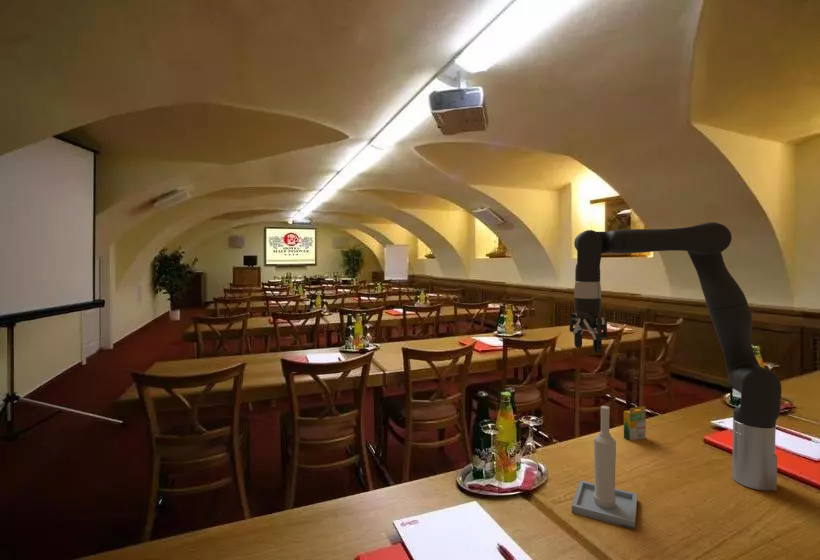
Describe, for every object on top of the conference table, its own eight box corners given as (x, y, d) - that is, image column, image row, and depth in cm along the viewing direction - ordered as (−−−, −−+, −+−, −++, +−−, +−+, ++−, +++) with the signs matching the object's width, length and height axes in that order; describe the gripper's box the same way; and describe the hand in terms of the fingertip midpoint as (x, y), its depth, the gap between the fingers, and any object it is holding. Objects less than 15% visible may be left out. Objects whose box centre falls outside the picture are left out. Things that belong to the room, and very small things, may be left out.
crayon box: (639, 435, 150) (639, 403, 150) (646, 438, 147) (646, 406, 147) (623, 437, 148) (623, 405, 148) (629, 441, 145) (630, 408, 145)
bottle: (614, 499, 108) (614, 404, 107) (617, 510, 103) (617, 411, 102) (592, 496, 110) (593, 403, 109) (594, 506, 105) (595, 409, 104)
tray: (637, 500, 109) (637, 493, 109) (635, 529, 97) (635, 522, 97) (580, 486, 116) (580, 480, 116) (571, 512, 104) (571, 505, 104)
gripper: (615, 297, 120) (614, 353, 121) (582, 294, 134) (582, 344, 135) (592, 298, 118) (592, 354, 119) (562, 295, 132) (562, 345, 133)
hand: (587, 349), depth 127 cm, fingers open, 8 cm apart
